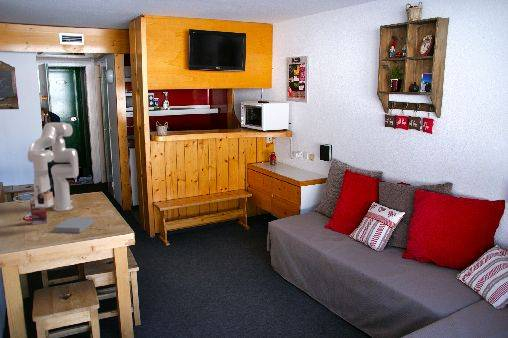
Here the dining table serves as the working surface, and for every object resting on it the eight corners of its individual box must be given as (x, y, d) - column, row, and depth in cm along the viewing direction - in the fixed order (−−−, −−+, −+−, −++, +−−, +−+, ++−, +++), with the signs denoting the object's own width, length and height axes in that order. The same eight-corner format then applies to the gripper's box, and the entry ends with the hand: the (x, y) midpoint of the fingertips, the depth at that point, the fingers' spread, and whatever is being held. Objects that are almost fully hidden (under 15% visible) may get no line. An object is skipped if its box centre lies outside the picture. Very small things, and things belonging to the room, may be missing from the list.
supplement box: (32, 225, 273) (29, 200, 270) (32, 222, 277) (29, 198, 274) (47, 223, 277) (45, 198, 274) (47, 220, 281) (44, 197, 278)
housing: (41, 203, 266) (39, 191, 264) (53, 204, 265) (52, 191, 264) (35, 206, 260) (33, 193, 258) (48, 207, 259) (46, 194, 258)
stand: (69, 222, 278) (68, 217, 278) (93, 223, 277) (93, 218, 276) (54, 232, 261) (53, 227, 260) (79, 232, 259) (79, 228, 259)
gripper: (43, 169, 267) (46, 198, 271) (26, 176, 250) (29, 206, 254) (55, 170, 266) (57, 198, 270) (38, 176, 250) (42, 206, 254)
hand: (44, 202), depth 262 cm, fingers closed on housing, 6 cm apart
